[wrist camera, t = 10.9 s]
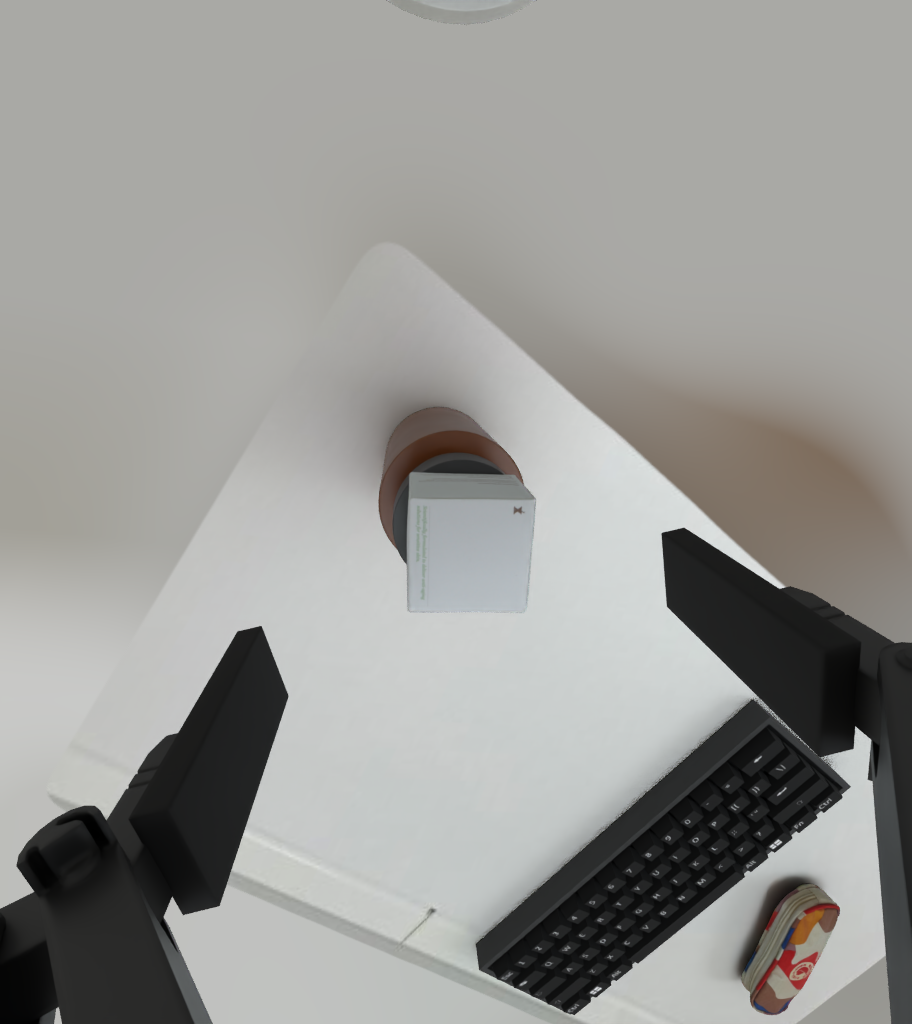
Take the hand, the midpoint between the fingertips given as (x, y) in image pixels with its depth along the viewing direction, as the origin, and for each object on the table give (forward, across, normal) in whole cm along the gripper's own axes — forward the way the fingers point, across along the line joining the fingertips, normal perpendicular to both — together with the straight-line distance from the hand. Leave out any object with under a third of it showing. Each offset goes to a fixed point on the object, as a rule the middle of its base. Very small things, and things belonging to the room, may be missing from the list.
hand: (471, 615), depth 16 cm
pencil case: (+28, +31, -74) cm, 84 cm away
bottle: (+28, 0, -1) cm, 28 cm away
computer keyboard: (+28, +15, -54) cm, 63 cm away
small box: (+11, +1, -1) cm, 11 cm away
